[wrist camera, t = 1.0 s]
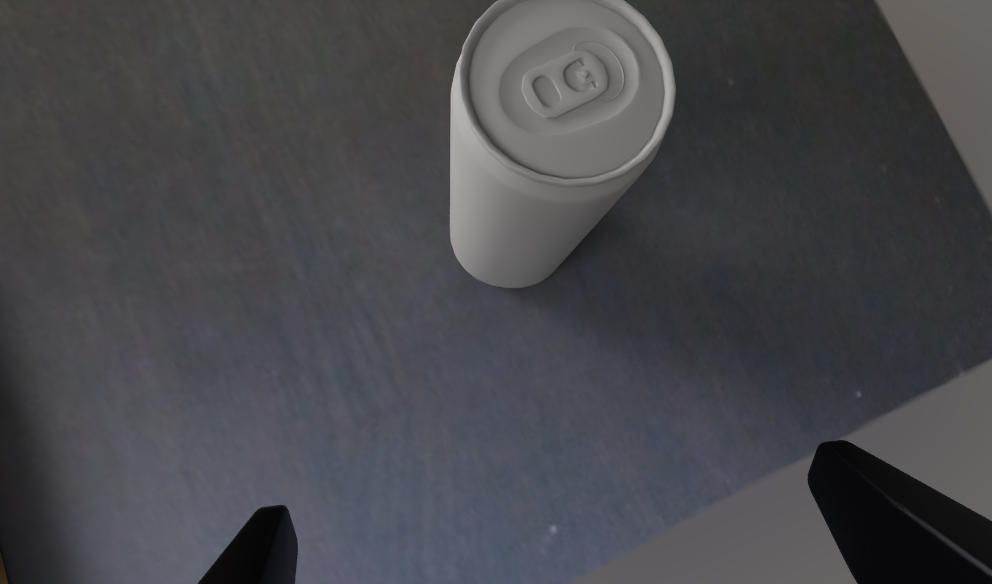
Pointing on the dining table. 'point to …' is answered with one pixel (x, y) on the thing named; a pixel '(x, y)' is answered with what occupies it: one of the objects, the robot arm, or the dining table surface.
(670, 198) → the dining table surface
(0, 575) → the coaster pad
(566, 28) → the beverage can
